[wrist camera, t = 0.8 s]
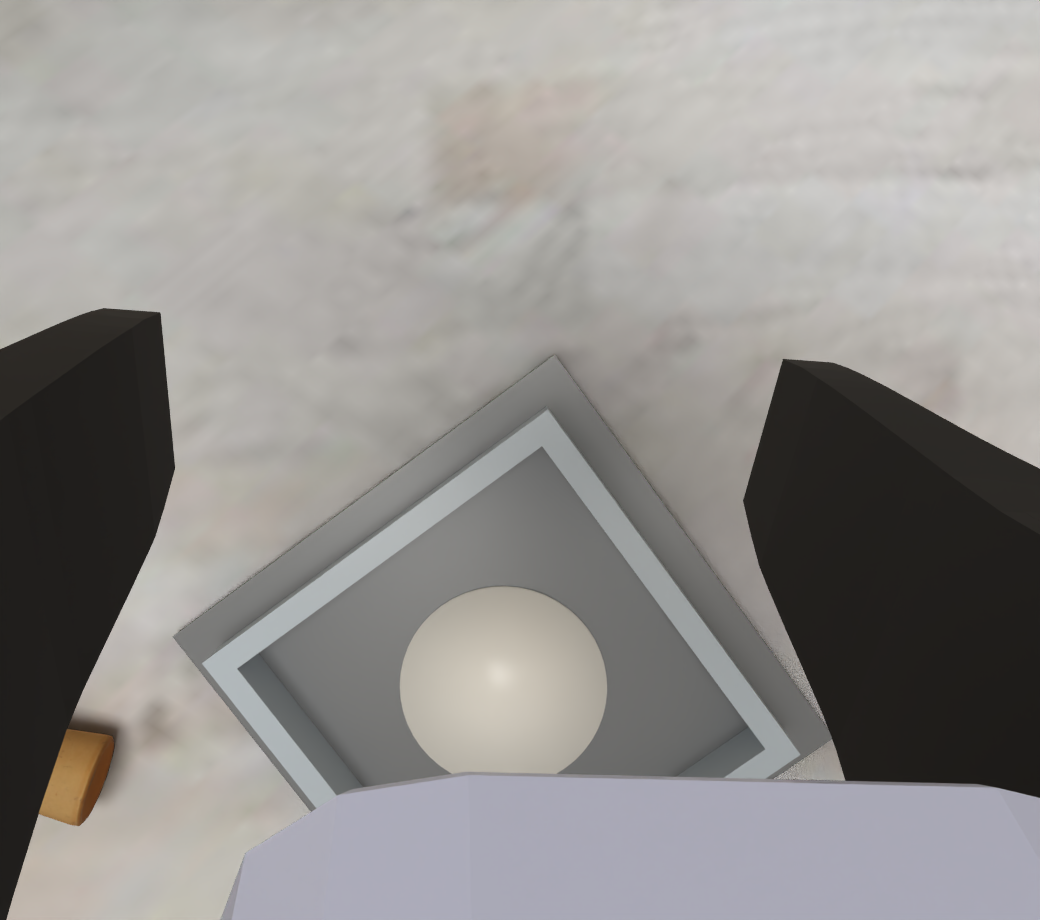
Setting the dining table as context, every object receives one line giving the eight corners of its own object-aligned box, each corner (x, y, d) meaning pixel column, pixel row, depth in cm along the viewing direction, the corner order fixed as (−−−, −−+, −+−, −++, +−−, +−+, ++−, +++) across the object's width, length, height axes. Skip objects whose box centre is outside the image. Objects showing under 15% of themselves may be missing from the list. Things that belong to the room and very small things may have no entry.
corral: (829, 731, 33) (853, 762, 30) (456, 985, 34) (450, 1035, 32) (554, 354, 32) (556, 354, 29) (178, 632, 33) (148, 655, 30)
